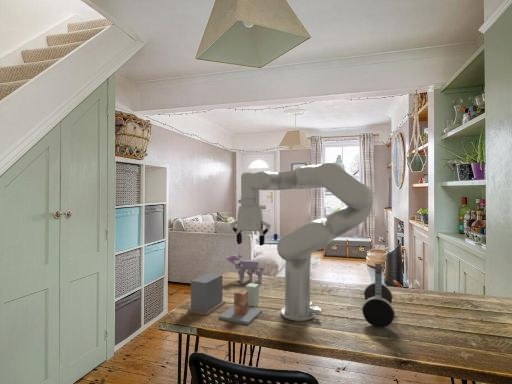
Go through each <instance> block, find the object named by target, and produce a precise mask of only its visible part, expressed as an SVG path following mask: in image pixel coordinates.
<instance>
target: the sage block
mask: <svg viewBox="0 0 512 384" xmlns="http://www.w3.org/2000/svg"><path fill="white" fill-rule="evenodd" d="M246 285H247V286H246ZM246 285H245V286H246V288H245V291H248V307H252V308H254V307H256V306H257V305H259V303H260V300H259V299H260V289H259V288H260V284H259V283H254V282H252V283H250V282H249V283H248V284H246Z"/></svg>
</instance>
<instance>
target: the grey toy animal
mask: <svg viewBox="0 0 512 384" xmlns="http://www.w3.org/2000/svg"><path fill="white" fill-rule="evenodd" d="M226 260H227V261H228V262H230V263H231V264H234V266H235V270H238V271H237V275H238V276H239V283H240V284H242V283H244V281H243V280H244V279H245V271H246V274H247V275H248V277H249V278H248V279H249V284H250V283H253V274H254V272H255V276H257V279H258V280H257V281H258V284H259V285H261V284H262V280H263V279H262V278H263V271H264V267H263V266H260V261H259V260H254V259H244V260H243V255H242V254H232V255H231V256H230V257H228V258H226Z"/></svg>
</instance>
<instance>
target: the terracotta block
mask: <svg viewBox="0 0 512 384" xmlns="http://www.w3.org/2000/svg"><path fill="white" fill-rule="evenodd" d="M233 306H234V314H236V315H241V316H244V315H245V314H246V313H248V307H249V306H248V291H246V289H238V290H235V292H233Z"/></svg>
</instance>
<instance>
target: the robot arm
mask: <svg viewBox="0 0 512 384" xmlns="http://www.w3.org/2000/svg"><path fill="white" fill-rule="evenodd" d="M240 185H241V186H240V196H241V197H240V199H238V200H237V202H238V204H240V205H239V206H238V211H237V218H236V220H235V221H233V222H231V223H230V227H231V228H232V231H233V232H234V233H235V235H236V244H237V245H241V244H242V243H243V235H242V234H243V233H242V232H243V231H245V232H258V233H259V237H258V238H259V243H258V244H259V246H260V247H261V246H262V247H263V245H264V244H265V242H266V241H265V239H266V238H265V236H266V234H267V233H268V232H269V231H270V228H271V226H272V225H271V224H270V223H268V221H266V220H264V219H263V210H262V209H263V208H262V206H261V205H260V191H282V190H283V191H284V190H296V189H297V190H306V189H308V190H309V189H318V188H319V189H320V188H322V189H323V188H324V189H326V190H327V191H328V192H330V193H331V194H332V195H333V196H334V197H336V199H338V200H340V202H342V203H343V204H344V205H343V206H342V207H340V208H338V209H337V210H334V211H333V212H331V213H329V214H327V215H325V216H323V217H322V218H317V219H314V220H311V221H309V222H307V223H306V224H303V225H302V226H300V227H297V228H296V229H294V230H292V231H291V232H288V233H287V234H285V235H283V236H282V237H280V239H279V240H278V242H277V247H276V250H277V254H278V256H279V257H280V258H281V259H283V260H284V261H285V262H284V263H285V266H284V267H285V268H284V270H285V271H284V299H285V300H284V307H282V308H281V310H280V315H281V317H283V318H285V319H287V320H291V321H296V322H303V321H310V320H311V319H313V318H314V317H315V315H319V316H320V315H322V312H323V311H322V309H321V308H320V307H319V306H314V305H313V302H312V301H311V262H312V253H315V252H316V251H319V250H321V249H322V248H324V247H326V246H327V245H328V244H330V243H331V242H332V241H333V240H335V239H336V238H338V237H341V236H342V235H344V234H347V233H348V232H350V231H352V230H353V229H355V228H357V227H359V226H360V225H362V224H363V223H364V221H366V220H367V219H368V217H369V216H370V213H371V212H372V208H373V203H374V200H373V199H374V198H373V197H374V196H373V192H372V190H371V188H370V186H368V185H367V184H365V183H362V182H360V181H359V180H358V179H357V178H355V177H353V176H352V175H351V174H349V173H348V172H347V171H345V170H344V168H343V167H342V165H340V164H338V163H336V162H334V161H325V162H322V163H321V164H316V165H315V164H312V165H305V166H303V165H302V166H297V168H295V169H293V170H288V171H280V172H279V171H277V172H275V171H266V170H264V171H256V172H243V173H242V174H241V175H240ZM264 226H265V229H264Z"/></svg>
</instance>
